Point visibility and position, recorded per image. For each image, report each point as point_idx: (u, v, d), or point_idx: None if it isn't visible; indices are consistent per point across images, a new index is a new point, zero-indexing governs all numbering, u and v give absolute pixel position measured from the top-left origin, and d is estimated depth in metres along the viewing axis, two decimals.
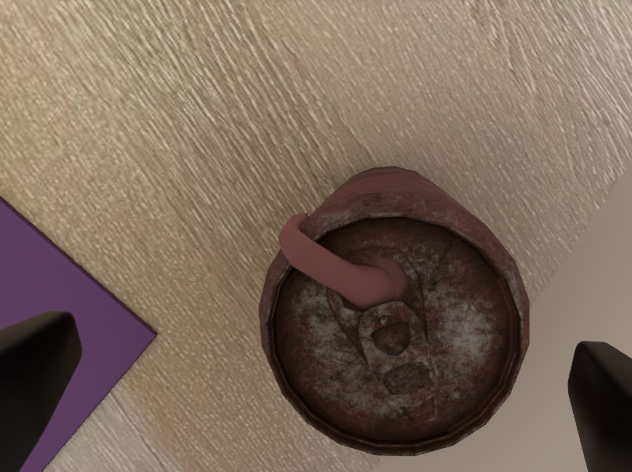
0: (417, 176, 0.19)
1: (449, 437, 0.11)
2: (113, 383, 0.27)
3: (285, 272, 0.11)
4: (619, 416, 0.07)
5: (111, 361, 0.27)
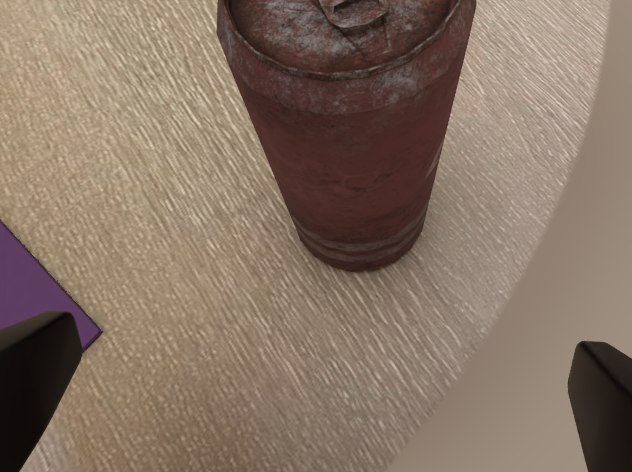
0: None
1: (404, 59, 0.11)
2: None
3: None
4: (619, 416, 0.07)
5: None
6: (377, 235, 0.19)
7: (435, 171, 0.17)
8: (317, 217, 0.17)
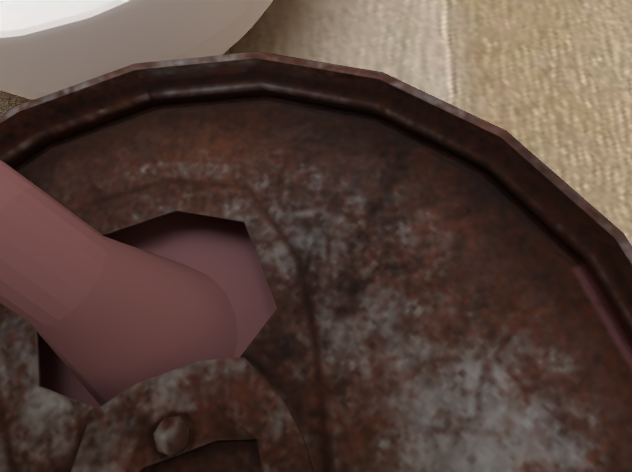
0: None
1: None
2: None
3: None
4: None
5: None
6: None
7: None
8: None
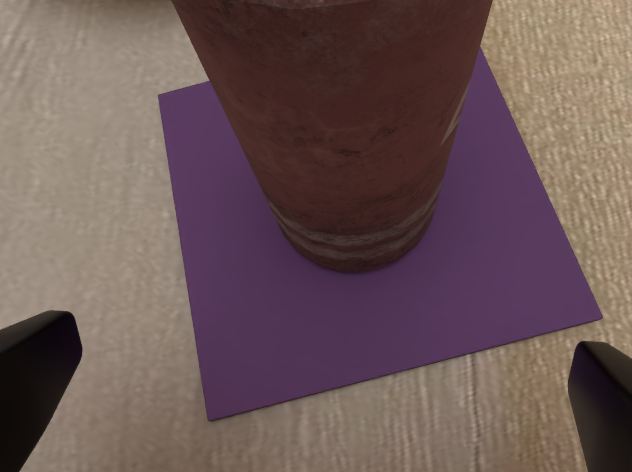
0: None
1: None
2: (495, 343, 0.18)
3: None
4: (619, 416, 0.07)
5: (512, 313, 0.18)
6: (376, 223, 0.14)
7: (453, 138, 0.13)
8: (295, 198, 0.13)
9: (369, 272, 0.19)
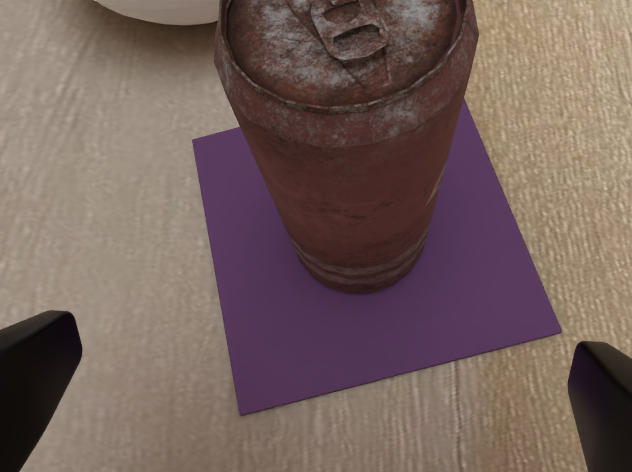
0: None
1: (406, 93, 0.10)
2: (474, 352, 0.22)
3: None
4: (619, 416, 0.07)
5: (488, 328, 0.22)
6: (377, 259, 0.18)
7: (436, 196, 0.17)
8: (316, 242, 0.17)
9: (371, 293, 0.23)
